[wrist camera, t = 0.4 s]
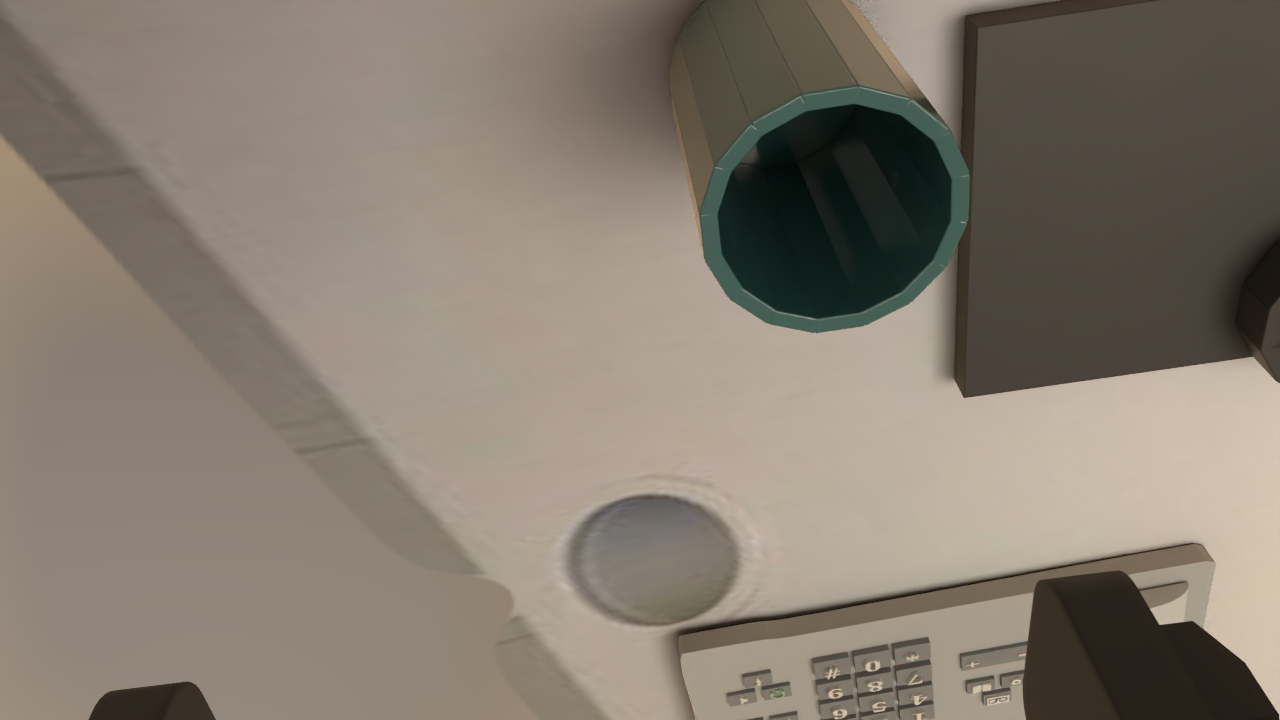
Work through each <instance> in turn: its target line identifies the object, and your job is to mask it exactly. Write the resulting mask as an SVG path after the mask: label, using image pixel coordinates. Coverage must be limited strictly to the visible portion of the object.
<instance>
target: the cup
mask: <svg viewBox="0 0 1280 720" xmlns="http://www.w3.org/2000/svg"><path fill="white" fill-rule="evenodd" d="M669 87H670V96H671V101H672V109H673V116H674V121H675V126H676V130H677V135H678V140H679V144H680V149H681V154H682V158H683V163H684V167H685V172H686V177H687V181H688V186H689V191H690V195H691V200H692V204H693V209H694V214H695V218H696V223H697V228H698V232H699V237H700V241H701V246H702V251H703V255H704V259H705V262H706V264H707V265H708V267H709V268H710V270H711V271H712V273H713V275H714V276H715V278H716V279H717V281H718V282H719V284H720V286H721V287H722V289H723V290H724V292H725V293H726V295H727V297H729V298H730V300H732V301H733V302H735V303H736V304H738V305H739V306H741V307H742V308H744V309H746V310H747V311H749V312H750V313H752V314H753V315H755V316H756V317H758V318H759V319H761V320H763V321H764V322H766V323H769V324H771V325H776V326H781V327H786V328H791V329H797V330H802V331H807V332H812V333H814V332H815V333H820V332H827V331H834V330H840V329H847V328H854V327H861V326H864V325H867V324H869V323H871V322H873V321H875V320H877V319H879V318H881V317H883V316H885V315H887V314H890V313H892V312H894V311H896V310H898V309H900V308H902V307H904V306H906V305H908V304H909V303H910V302H912V301H913V300H914V299H915V298H916V297H917V296H918V295H919V294H920V293H921V292H922V291H923V290H924V289H925V288H926V287H927V286H928V285H929V284H930V283H931V282H932V281H933V280H934V279H935V278H936V277H937V276H938V275H939V274H940V273H941V272H942V271H943V270H944V269H945V268H946V266H947V265H948V264H949V261H950V259H951V257H952V255H953V253H954V251H955V249H956V246H957V244H958V242H959V240H960V238H961V236H962V234H963V231H964V229H965V227H966V225H967V221H968V212H969V183H970V174H969V170H968V167H967V165H966V163H965V161H964V158H963V156H962V154H961V152H960V150H959V147H958V145H957V143H956V141H955V138H954V136H953V134H952V132H951V130H950V129H949V127H948V126H947V125H946V123H945V122H944V121H943V119H942V118H941V117H940V115H939V114H938V113H937V111H936V110H935V109H934V107H933V106H932V105H931V104H930V102H929V101H928V100H927V98H926V97H925V96H924V94H923V93H922V92H921V90H920V89H919V88H918V86H917V85H916V84H915V82H914V81H913V80H912V78H911V77H910V76H909V74H908V73H907V72H906V70H905V69H904V68H903V66H902V65H901V64H900V62H899V61H898V60H897V58H896V57H895V56H894V54H893V53H892V52H891V50H890V49H889V48H888V47H887V45H886V44H885V43H884V41H883V40H882V39H881V37H880V36H879V35H878V33H877V32H876V31H875V29H874V28H873V27H872V25H871V24H870V23H869V21H868V20H867V19H866V17H865V16H864V15H863V13H862V12H861V11H860V10H859V9H858V8H857V7H856V6H855V5H853V4H852V2H851V1H850V0H706V1H705V2H704V3H703V4H701V5H700V7H699V8H698V9H697V10H696V11H695V12H694V13H693V15H692V16H691V17H690V19H689V20H688V22H687V23H686V25H685V26H684V28H683V30H682V32H681V34H680V36H679V38H678V40H677V42H676V45H675V48H674V51H673V54H672V59H671V64H670V73H669Z"/></svg>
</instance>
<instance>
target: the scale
mask: <svg viewBox="0 0 1280 720" xmlns="http://www.w3.org/2000/svg"><path fill="white" fill-rule="evenodd" d="M961 154H962V156H963V158H964V161H965V163H966V165H967V167H968V170H969V174H970V183H969V212H968V221H967V225H966V227H965V229H964V231H963V234H962V236H961V238H960V240H959V253H958V286H957V320H956V353H955V381H956V383H957V385H958V387H959V389H960V391H961V393H962V395H963V397H964V398H967V397H974V396H981V395H988V394H995V393H1002V392H1009V391H1016V390H1023V389H1030V388H1037V387H1044V386H1051V385H1058V384H1065V383H1072V382H1079V381H1086V380H1093V379H1100V378H1107V377H1114V376H1121V375H1128V374H1135V373H1142V372H1149V371H1156V370H1163V369H1170V368H1177V367H1184V366H1191V365H1198V364H1205V363H1212V362H1219V361H1226V360H1233V359H1240V358H1247V357H1254V358H1255V359H1256V360H1257V361H1258V362H1259V363H1260V364H1261V365H1262V366H1263V368H1264V369H1265V370H1266V371H1267V372H1268V373H1269V374H1270V375H1271V376H1272V377H1273V378H1274V379H1275V380H1276V381H1277V382H1279V383H1280V0H1067V1H1060V2H1054V3H1047V4H1041V5H1034V6H1028V7H1021V8H1015V9H1008V10H1002V11H995V12H989V13H982V14H976V15H969V16H966V20H965V53H964V87H963V120H962V153H961Z"/></svg>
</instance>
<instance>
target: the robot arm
mask: <svg viewBox="0 0 1280 720" xmlns="http://www.w3.org/2000/svg"><path fill="white" fill-rule="evenodd" d="M1023 703H1024V711H1025V716H1026V720H1279V714H1278V713H1277V711H1276V710H1275V708H1274V707H1273V705H1272V704H1271V702H1270V701H1269V699H1268V697H1267V696H1266V694H1265V693H1264V691H1263V690H1262V688H1261V687H1260V685H1259V684H1258V682H1257V681H1256V679H1255V678H1254V676H1253V674H1252V673H1251V671H1250V670H1249V668H1248V667H1247V665H1246V664H1245V663H1244V662H1243V661H1242V660H1241V659H1240V658H1238V657H1237V656H1236V655H1235V654H1233V653H1232V652H1231V651H1230V650H1228V649H1227V648H1226V647H1225V646H1223V645H1222V644H1221V643H1220V642H1218V641H1217V640H1216V639H1215V638H1213V637H1212V636H1211V635H1210V634H1209V633H1207V632H1206V631H1205V630H1204V629H1202V628H1201V627H1200V626H1199V625H1197V624H1196V623H1195V622H1194V621H1188V622H1179V623H1171V624H1163V625H1159V623H1158V622H1157V620H1156V618H1155V617H1154V615H1153V613H1152V611H1151V610H1150V608H1149V606H1148V605H1147V603H1146V601H1145V600H1144V598H1143V596H1142V595H1141V593H1140V591H1139V589H1138V588H1137V586H1136V585H1135V583H1134V582H1133V580H1132V579H1131V578H1130V577H1129V576H1128V575H1127V574H1126V573H1124V572H1122V571H1120V570H1116V571H1108V572H1099V573H1091V574H1083V575H1075V576H1067V577H1059V578H1051V579H1042V580H1040V581H1038V582H1037V584H1036V586H1035V589H1034V595H1033V602H1032V611H1031V619H1030V627H1029V635H1028V643H1027V652H1026V660H1025V668H1024V676H1023ZM89 720H216V719H215V717H214V715H213V713H212V711H211V710H210V708H209V706H208V704H207V702H206V700H205V698H204V696H203V694H202V692H201V691H200V689H199V688H198V687H197V686H196V685H195V684H193V683H191V682H181V683H173V684H165V685H157V686H148V687H140V688H131V689H123V690H116V691H111V692H108V693H106V694H105V695H104V696H103V697H102V698H100V700H99V701H98V702H97V704H96V705H95V707H94V709H93V711H92V714H91V716H90V718H89Z"/></svg>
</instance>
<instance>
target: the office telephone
mask: <svg viewBox="0 0 1280 720" xmlns="http://www.w3.org/2000/svg"><path fill="white" fill-rule="evenodd" d="M1215 565H1216V563H1215V562H1214V560H1213V559H1212V557H1211V556H1210V555H1209V553H1208V552H1207V550H1206V549H1205V547H1204V546H1203V545H1196V544H1191V545H1185V546H1179V547H1174V548H1168V549H1162V550H1157V551H1151V552H1145V553H1140V554H1134V555H1128V556H1123V557H1118V558H1112V559H1107V560H1102V561H1096V562H1091V563H1085V564H1080V565H1075V566H1069V567H1064V568H1058V569H1053V570H1048V571H1042V572H1037V573H1031V574H1026V575H1021V576H1015V577H1010V578H1004V579H999V580H994V581H988V582H983V583H977V584H972V585H967V586H961V587H956V588H951V589H945V590H940V591H934V592H929V593H924V594H918V595H913V596H907V597H902V598H897V599H891V600H886V601H880V602H875V603H870V604H864V605H859V606H853V607H848V608H843V609H837V610H832V611H826V612H821V613H815V614H810V615H804V616H798V617H792V618H787V619H781V620H772V621H760V622H752V623H746V624H741V625H735V626H730V627H724V628H719V629H713V630H708V631H702V632H697V633H691V634H685V635H680V636H679V640H678V647H679V655H680V662H681V668H682V674H683V677H684V681H685V684H686V688H687V691H688V695H689V698H690V702H691V705H692V708H693V712H694V715H695V719H696V720H1026V716H1025V711H1024V703H1023V676H1024V668H1025V660H1026V652H1027V643H1028V635H1029V627H1030V619H1031V611H1032V602H1033V595H1034V589H1035V586H1036V584H1037V582H1038V581H1040V580H1042V579H1051V578H1059V577H1067V576H1075V575H1083V574H1091V573H1099V572H1108V571H1116V570H1120V571H1122V572H1124V573H1126V574H1127V575H1128V576H1129V577H1130V578H1131V579H1132V580H1133V582H1134V583H1135V585H1136V586H1137V588H1138V589H1139V591H1140V593H1141V595H1142V596H1143V598H1144V600H1145V601H1146V603H1147V605H1148V606H1149V608H1150V610H1151V611H1152V613H1153V615H1154V617H1155V618H1156V620H1157V622H1158V623H1159V625H1163V624H1171V623H1179V622H1188V621H1194V622H1195V623H1196V624H1197V625H1199V626H1200V627H1201V628H1202V629H1203V627H1204V622H1205V616H1206V610H1207V605H1208V599H1209V593H1210V588H1211V583H1212V579H1213V574H1214V570H1215Z"/></svg>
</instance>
